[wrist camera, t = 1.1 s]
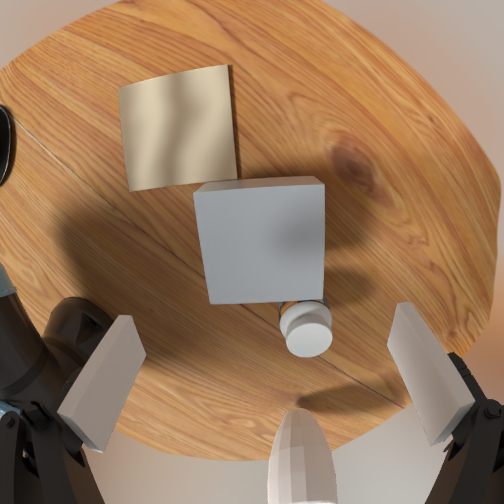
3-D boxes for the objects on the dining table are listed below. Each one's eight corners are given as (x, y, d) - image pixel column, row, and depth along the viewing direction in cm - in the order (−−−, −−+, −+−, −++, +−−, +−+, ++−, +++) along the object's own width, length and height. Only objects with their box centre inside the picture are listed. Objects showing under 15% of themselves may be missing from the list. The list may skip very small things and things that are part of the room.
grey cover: (218, 278, 29) (210, 304, 25) (205, 182, 25) (192, 193, 21) (314, 273, 29) (322, 298, 24) (313, 175, 25) (324, 184, 20)
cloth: (131, 190, 31) (129, 191, 30) (120, 88, 26) (118, 87, 25) (237, 178, 30) (237, 178, 30) (227, 65, 25) (227, 64, 24)
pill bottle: (281, 267, 34) (286, 315, 25) (326, 273, 34) (345, 320, 25) (273, 305, 36) (275, 358, 27) (315, 310, 36) (328, 362, 27)
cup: (266, 386, 43) (264, 504, 23) (328, 382, 42) (348, 497, 22) (268, 418, 47) (266, 517, 27) (321, 415, 46) (333, 512, 26)
